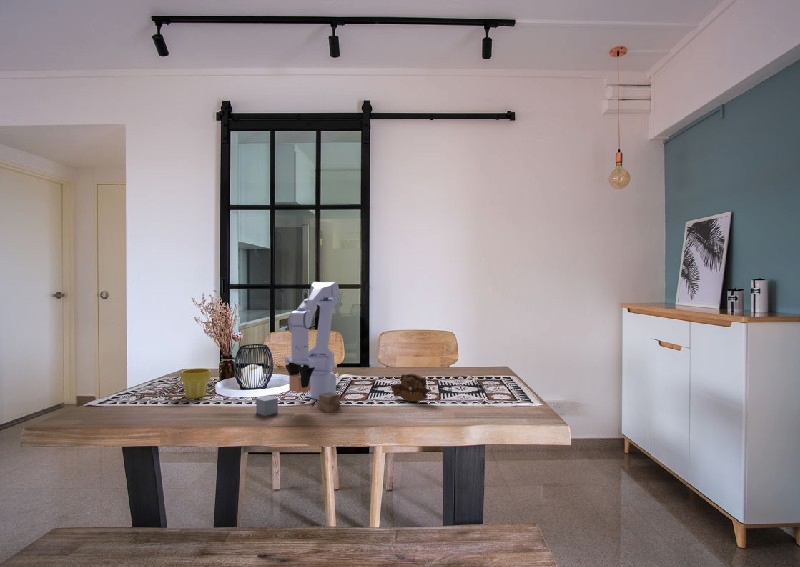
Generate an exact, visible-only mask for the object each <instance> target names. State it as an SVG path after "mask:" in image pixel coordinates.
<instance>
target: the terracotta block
mask: <svg viewBox="0 0 800 567" xmlns="http://www.w3.org/2000/svg"><path fill="white" fill-rule="evenodd" d="M288 378H289V389H288V390H289V391H290V392H294V393H303V392H307V391H311V380H310V381H309V385H308V387H305V388H302V385H301V376H300V373H299V374H295V375H289V377H288Z"/></svg>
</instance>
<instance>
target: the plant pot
mask: <svg viewBox="0 0 800 567" xmlns="http://www.w3.org/2000/svg"><path fill="white" fill-rule="evenodd" d="M210 379H211V369H210V368H206V367H205V368H197V367H196V368H187V369H184V370H181V372H180V381H181V382H182V383H183V389H184V394H185V397H186V398H188V399H199V398H203V397H205V396H206V392H207V389H208V385H209V380H210Z"/></svg>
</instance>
